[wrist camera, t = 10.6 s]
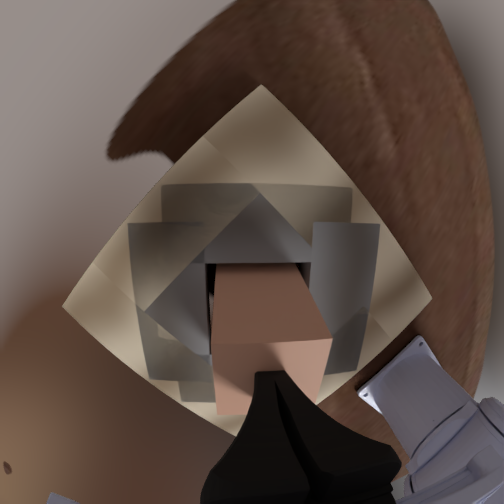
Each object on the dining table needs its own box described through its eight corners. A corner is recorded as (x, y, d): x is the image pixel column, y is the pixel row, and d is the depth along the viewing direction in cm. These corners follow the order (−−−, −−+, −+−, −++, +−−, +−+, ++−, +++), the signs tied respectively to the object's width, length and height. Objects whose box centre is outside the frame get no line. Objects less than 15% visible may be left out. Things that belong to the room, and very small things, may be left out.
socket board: (415, 287, 21) (432, 298, 18) (251, 426, 23) (254, 445, 20) (257, 96, 16) (261, 84, 14) (77, 293, 18) (62, 306, 16)
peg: (294, 261, 19) (332, 338, 11) (287, 323, 20) (313, 409, 13) (216, 261, 18) (210, 343, 11) (218, 325, 20) (217, 414, 13)
